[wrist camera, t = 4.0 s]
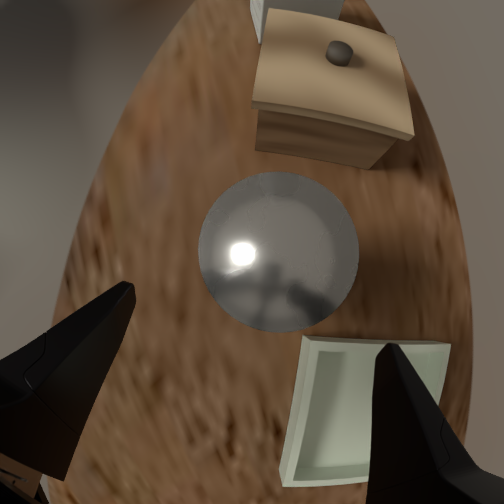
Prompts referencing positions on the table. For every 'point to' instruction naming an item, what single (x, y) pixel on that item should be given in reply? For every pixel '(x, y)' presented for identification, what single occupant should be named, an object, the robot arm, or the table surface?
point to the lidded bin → (329, 90)
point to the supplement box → (316, 3)
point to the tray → (343, 406)
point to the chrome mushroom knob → (278, 252)
